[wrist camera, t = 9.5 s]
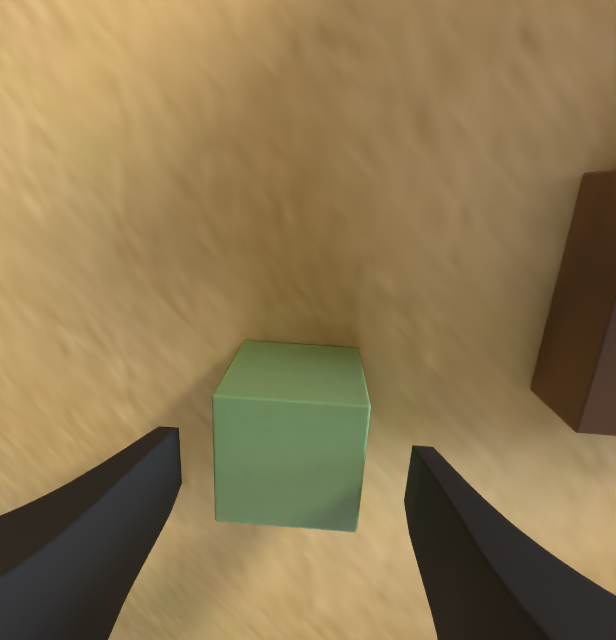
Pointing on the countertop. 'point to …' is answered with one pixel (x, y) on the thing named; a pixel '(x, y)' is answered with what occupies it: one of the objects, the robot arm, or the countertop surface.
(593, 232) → the walnut block
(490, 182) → the countertop surface
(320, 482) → the green block
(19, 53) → the countertop surface
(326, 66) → the countertop surface
